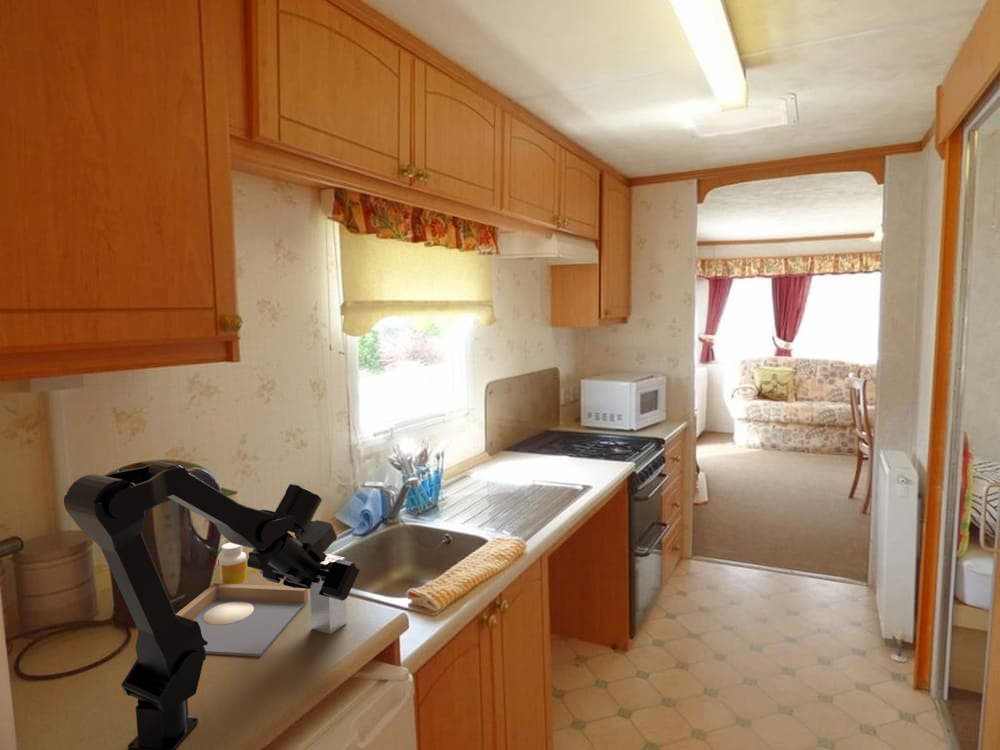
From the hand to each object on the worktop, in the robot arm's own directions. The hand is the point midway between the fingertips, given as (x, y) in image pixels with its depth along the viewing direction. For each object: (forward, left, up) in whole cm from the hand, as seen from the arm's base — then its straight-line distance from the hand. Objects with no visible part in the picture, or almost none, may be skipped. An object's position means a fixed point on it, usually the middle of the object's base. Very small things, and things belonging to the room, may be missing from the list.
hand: (333, 589), depth 115 cm
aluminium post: (-1, +1, -7) cm, 7 cm away
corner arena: (-2, +19, -7) cm, 20 cm away
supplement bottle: (+12, +27, -7) cm, 30 cm away
